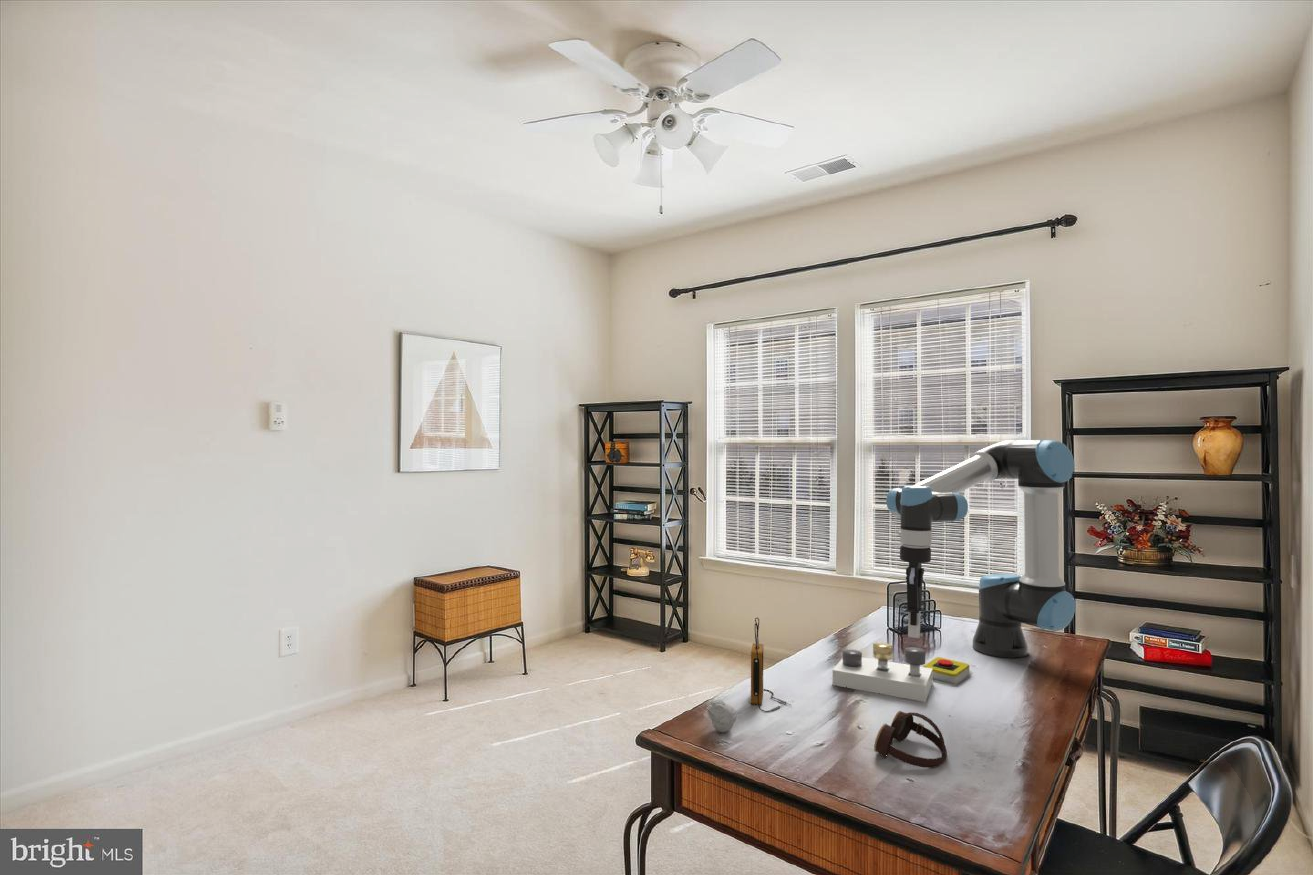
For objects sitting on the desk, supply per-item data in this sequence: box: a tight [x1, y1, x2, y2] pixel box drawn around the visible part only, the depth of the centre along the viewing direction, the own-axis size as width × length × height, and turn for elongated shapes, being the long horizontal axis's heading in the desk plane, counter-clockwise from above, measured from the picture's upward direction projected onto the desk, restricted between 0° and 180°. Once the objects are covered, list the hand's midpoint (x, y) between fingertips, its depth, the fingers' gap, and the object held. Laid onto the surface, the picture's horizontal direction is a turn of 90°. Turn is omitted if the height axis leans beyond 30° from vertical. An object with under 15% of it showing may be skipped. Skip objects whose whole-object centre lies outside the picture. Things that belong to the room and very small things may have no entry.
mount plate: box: [832, 657, 934, 703], centre depth 181 cm, size 23×14×4 cm, turn 61°
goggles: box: [873, 710, 948, 769], centre depth 142 cm, size 15×13×10 cm
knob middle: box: [872, 642, 894, 672], centre depth 181 cm, size 5×5×7 cm
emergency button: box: [922, 656, 973, 687], centre depth 188 cm, size 9×4×15 cm
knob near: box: [904, 646, 926, 677], centre depth 177 cm, size 5×5×7 cm
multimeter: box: [750, 617, 792, 713], centre depth 169 cm, size 15×10×20 cm
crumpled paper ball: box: [706, 699, 737, 733], centre depth 152 cm, size 6×7×7 cm
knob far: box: [842, 649, 863, 667], centre depth 185 cm, size 5×5×7 cm
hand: (914, 636), depth 177 cm, fingers closed
